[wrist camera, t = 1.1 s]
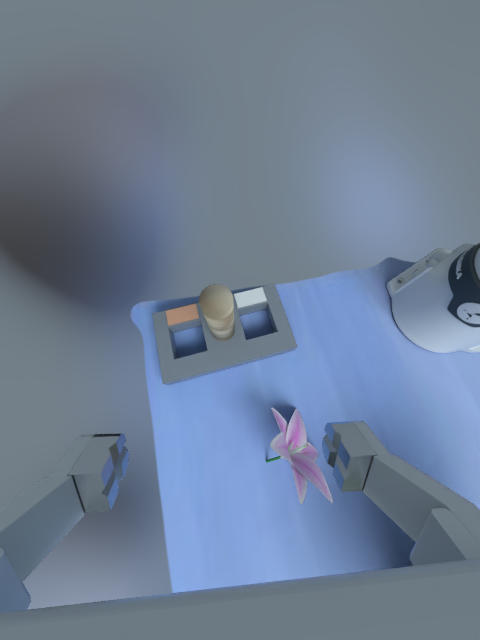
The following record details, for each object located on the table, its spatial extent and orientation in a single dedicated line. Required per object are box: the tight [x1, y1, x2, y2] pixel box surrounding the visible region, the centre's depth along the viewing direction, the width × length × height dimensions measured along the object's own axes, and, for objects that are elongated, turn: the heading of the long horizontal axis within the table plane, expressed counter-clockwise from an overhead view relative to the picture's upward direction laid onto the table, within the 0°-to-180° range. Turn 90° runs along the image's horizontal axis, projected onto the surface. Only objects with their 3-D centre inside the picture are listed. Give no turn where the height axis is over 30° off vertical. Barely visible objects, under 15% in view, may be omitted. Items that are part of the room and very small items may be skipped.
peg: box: [199, 284, 235, 341], centre depth 32 cm, size 4×4×12 cm
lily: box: [266, 407, 333, 504], centre depth 31 cm, size 12×12×10 cm
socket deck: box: [152, 284, 297, 385], centre depth 39 cm, size 22×12×3 cm, turn 105°
